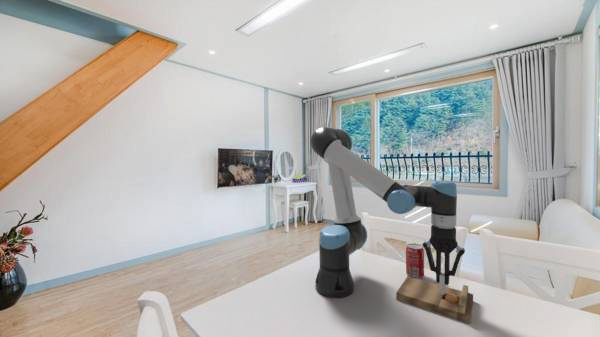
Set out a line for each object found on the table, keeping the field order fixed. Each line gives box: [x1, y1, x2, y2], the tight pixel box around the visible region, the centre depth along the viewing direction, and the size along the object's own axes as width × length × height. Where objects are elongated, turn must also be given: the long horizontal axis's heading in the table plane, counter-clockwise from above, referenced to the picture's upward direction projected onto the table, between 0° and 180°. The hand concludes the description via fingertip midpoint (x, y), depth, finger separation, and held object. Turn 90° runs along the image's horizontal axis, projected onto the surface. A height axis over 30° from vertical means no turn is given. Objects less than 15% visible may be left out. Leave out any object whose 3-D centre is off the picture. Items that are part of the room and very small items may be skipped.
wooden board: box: [395, 275, 474, 324], centre depth 88 cm, size 22×15×5 cm
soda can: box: [405, 243, 425, 280], centre depth 106 cm, size 7×7×13 cm
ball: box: [445, 293, 459, 304], centre depth 85 cm, size 4×4×4 cm
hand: (442, 292), depth 86 cm, fingers closed
